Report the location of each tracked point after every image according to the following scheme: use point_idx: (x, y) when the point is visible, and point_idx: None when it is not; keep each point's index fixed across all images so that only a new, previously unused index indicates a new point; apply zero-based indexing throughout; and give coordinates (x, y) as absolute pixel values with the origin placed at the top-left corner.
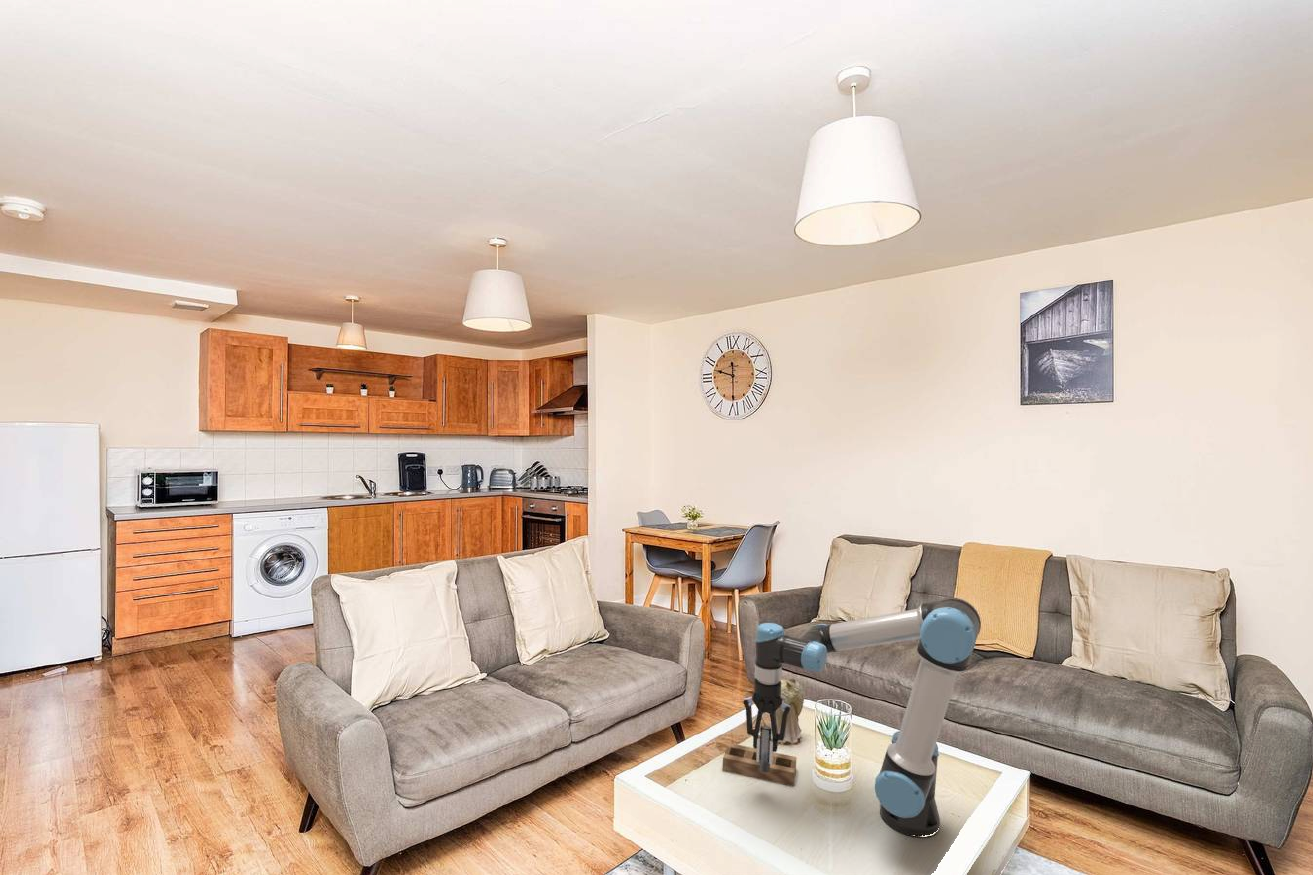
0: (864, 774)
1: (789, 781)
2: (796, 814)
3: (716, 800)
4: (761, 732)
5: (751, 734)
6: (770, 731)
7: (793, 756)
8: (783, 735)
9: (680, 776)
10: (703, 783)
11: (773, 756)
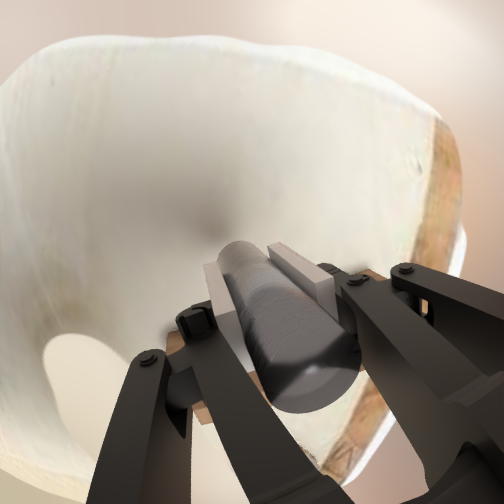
0: (80, 448)
1: (178, 335)
2: (99, 206)
3: (327, 121)
4: (330, 315)
5: (383, 281)
6: (259, 366)
7: (210, 422)
8: (129, 380)
9: (432, 175)
10: (385, 178)
11: (260, 390)
